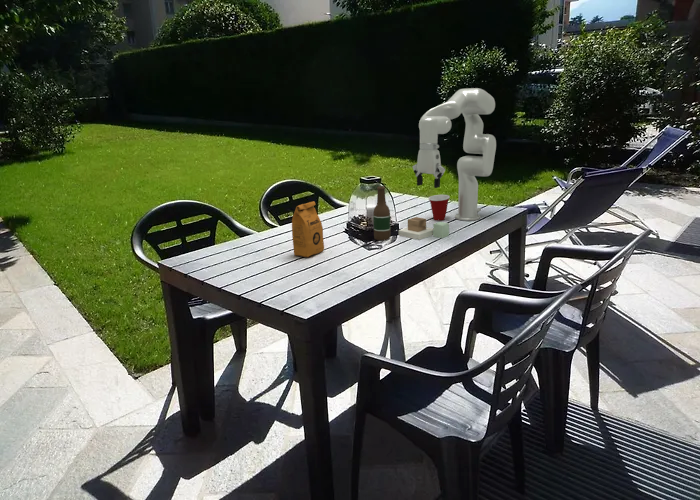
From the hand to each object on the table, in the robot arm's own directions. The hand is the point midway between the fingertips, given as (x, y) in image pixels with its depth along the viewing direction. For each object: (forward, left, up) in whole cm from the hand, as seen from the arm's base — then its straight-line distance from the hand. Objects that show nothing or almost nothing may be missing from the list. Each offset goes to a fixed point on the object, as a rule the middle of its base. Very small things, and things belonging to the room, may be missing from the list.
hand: (428, 186), depth 225 cm
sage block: (-5, +4, -24) cm, 24 cm away
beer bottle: (+14, -15, -24) cm, 32 cm away
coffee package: (+50, -24, -24) cm, 61 cm away
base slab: (0, -6, -23) cm, 24 cm away
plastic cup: (-29, -15, -24) cm, 40 cm away
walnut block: (0, -6, -21) cm, 22 cm away
